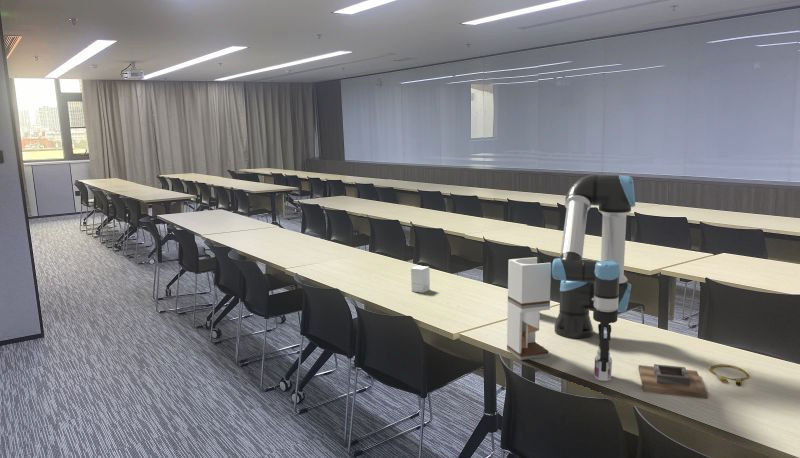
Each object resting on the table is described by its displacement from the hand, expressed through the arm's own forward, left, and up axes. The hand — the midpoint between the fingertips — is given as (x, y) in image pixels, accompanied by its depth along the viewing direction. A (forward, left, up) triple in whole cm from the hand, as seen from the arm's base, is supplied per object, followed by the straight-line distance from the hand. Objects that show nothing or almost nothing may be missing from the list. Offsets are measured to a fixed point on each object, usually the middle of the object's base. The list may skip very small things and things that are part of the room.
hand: (602, 374), depth 190 cm
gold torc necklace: (-14, +40, -2) cm, 42 cm away
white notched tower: (-16, -26, -1) cm, 31 cm away
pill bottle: (0, 0, -1) cm, 1 cm away
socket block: (-2, +21, -1) cm, 21 cm away
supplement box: (-90, -88, -1) cm, 126 cm away
